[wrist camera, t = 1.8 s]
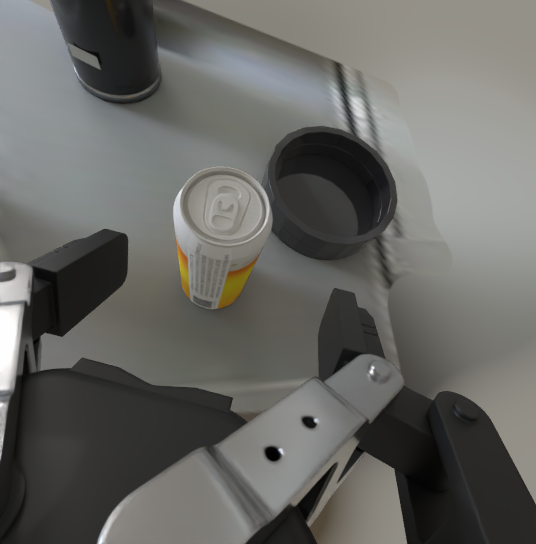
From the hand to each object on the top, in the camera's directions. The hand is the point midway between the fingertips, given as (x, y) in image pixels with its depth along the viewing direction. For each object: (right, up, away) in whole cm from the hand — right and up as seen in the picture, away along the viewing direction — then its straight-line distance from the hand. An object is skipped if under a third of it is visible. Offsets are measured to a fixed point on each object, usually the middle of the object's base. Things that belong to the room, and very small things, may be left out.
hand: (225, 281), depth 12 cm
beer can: (-4, -1, +20) cm, 21 cm away
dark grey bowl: (+8, +9, +26) cm, 29 cm away
